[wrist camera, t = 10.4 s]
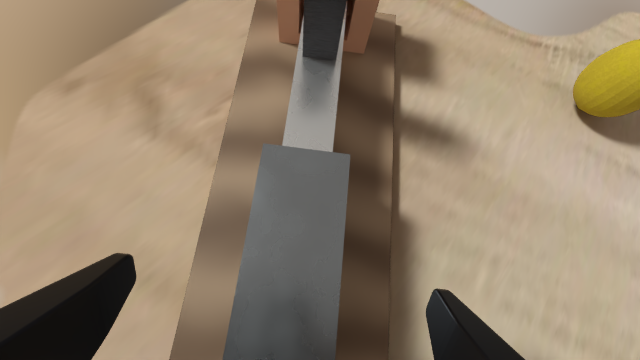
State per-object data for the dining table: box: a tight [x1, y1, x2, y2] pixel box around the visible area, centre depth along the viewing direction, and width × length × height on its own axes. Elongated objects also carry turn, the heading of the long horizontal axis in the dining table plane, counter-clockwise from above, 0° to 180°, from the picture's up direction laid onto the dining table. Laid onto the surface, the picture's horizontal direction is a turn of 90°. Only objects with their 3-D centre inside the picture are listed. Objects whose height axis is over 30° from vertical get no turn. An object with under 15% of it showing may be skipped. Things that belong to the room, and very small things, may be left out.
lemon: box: [573, 39, 640, 117], centre depth 25 cm, size 6×6×8 cm
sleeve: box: [222, 143, 350, 360], centre depth 18 cm, size 14×5×6 cm, turn 174°
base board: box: [169, 0, 396, 360], centre depth 24 cm, size 34×14×1 cm, turn 174°
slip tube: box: [282, 0, 348, 152], centre depth 18 cm, size 23×3×11 cm, turn 174°
